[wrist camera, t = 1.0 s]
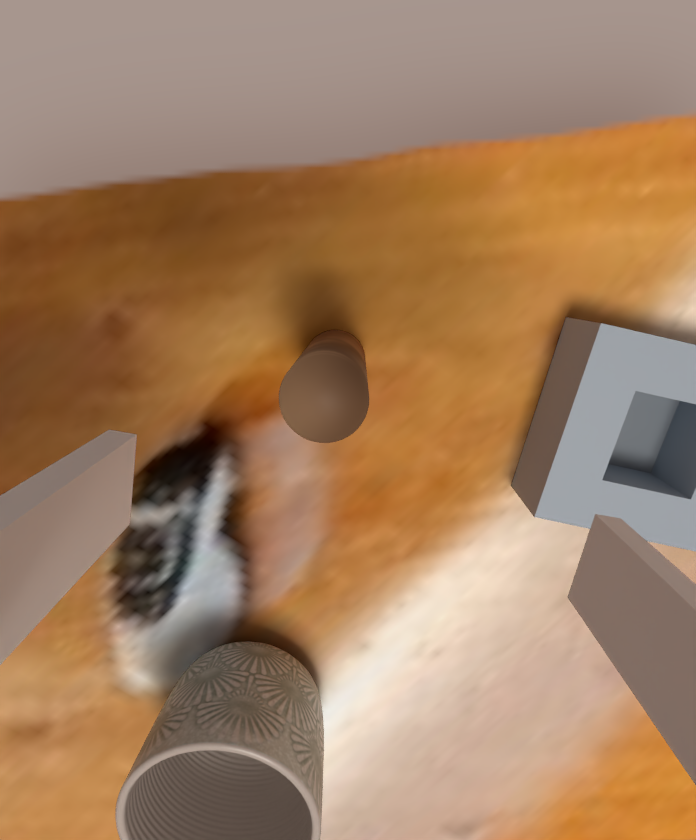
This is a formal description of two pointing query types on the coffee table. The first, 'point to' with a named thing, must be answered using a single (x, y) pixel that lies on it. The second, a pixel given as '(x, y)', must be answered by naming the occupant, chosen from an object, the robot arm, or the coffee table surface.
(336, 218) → the coffee table surface
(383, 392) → the coffee table surface
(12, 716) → the coffee table surface
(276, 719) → the planter
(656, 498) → the socket
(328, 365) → the dowel
